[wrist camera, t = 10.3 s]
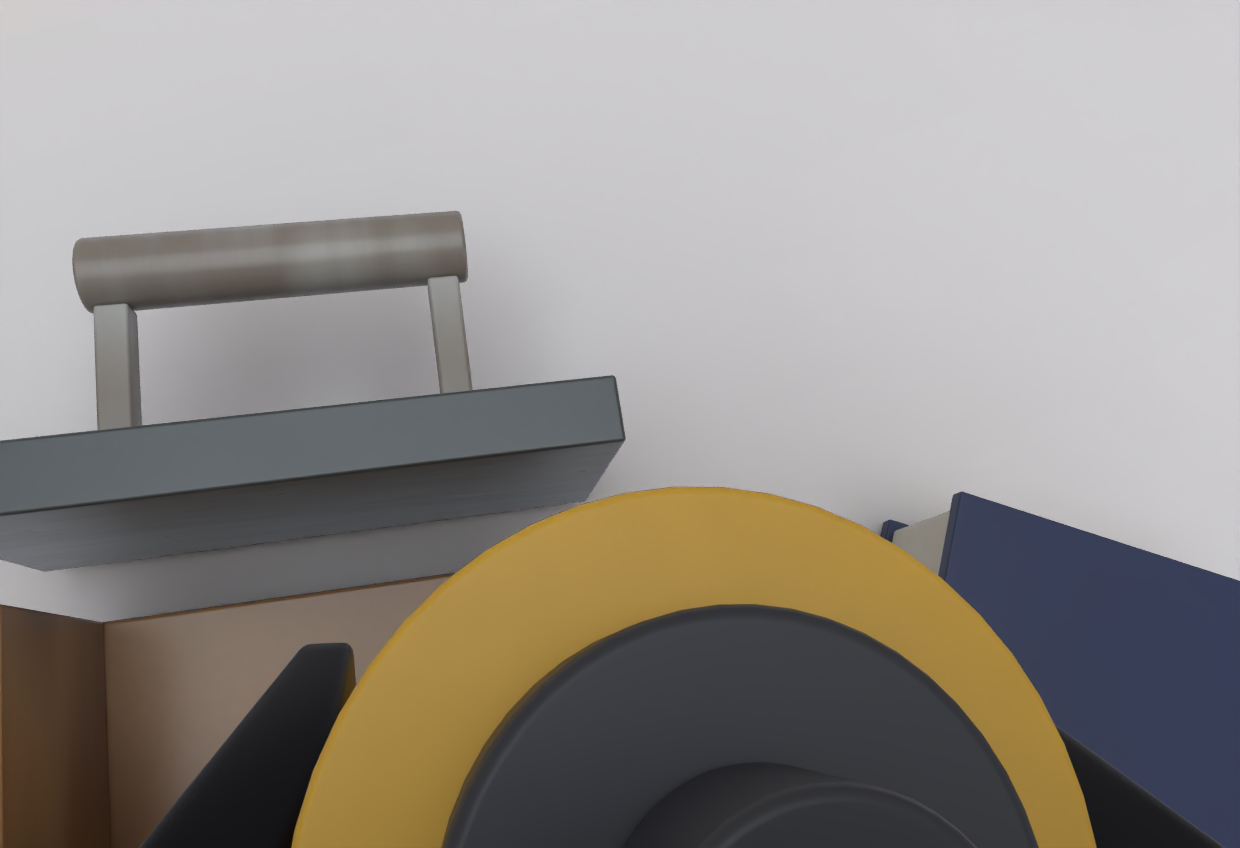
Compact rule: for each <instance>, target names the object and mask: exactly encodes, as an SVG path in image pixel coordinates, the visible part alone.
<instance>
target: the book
mask: <svg viewBox="0 0 1240 848" xmlns="http://www.w3.org/2000/svg"><path fill="white" fill-rule="evenodd" d="M881 537H882V538H884V539H886V540H888V541H889V542H891V543H893V544H895V545H896V546H898V547H900V548H902V549H903V550H904V551H906V552H907V553H909V554H910V555H911V556H913V557H914V558H915V559H917V560H918V561H919V562H921V563H922V564H923V565H925V566H926V567H927V568H929V569H930V570H931V571H933V572H934V573H935V574H937V575H938V576H939V577H941V578H942V579H943V580H944V581H945V582H946V583H947V584H948V585H949V586H950V587H951V588H953V589H954V590H955V591H956V592H957V593H958V594H959V595H960V596H961V597H962V598H963V599H964V600H965V601H966V602H967V603H968V604H969V605H970V606H971V607H972V608H974V609H975V610H976V611H977V612H978V613H979V614H980V615H981V617H982V618H983V619H984V620H985V621H986V623H987V624H988V625H989V626H990V627H991V629H992V630H993V631H994V632H995V633H996V635H997V636H998V637H999V638H1000V639H1001V641H1002V642H1003V643H1004V644H1005V645H1006V647H1007V648H1008V649H1009V650H1010V652H1011V653H1012V654H1013V655H1014V657H1015V659H1016V660H1017V662H1018V663H1019V665H1020V666H1021V668H1022V669H1023V671H1024V672H1025V674H1026V675H1027V677H1028V678H1029V680H1030V682H1031V683H1032V685H1033V686H1034V688H1035V689H1036V691H1037V692H1038V694H1039V695H1040V697H1041V699H1042V701H1043V703H1044V705H1045V707H1046V709H1047V711H1048V713H1049V715H1050V717H1051V719H1052V721H1053V723H1054V724H1056V725H1057V726H1059V727H1060V728H1061V729H1063V730H1064V731H1065V732H1067V733H1068V734H1070V735H1071V736H1072V737H1074V738H1075V739H1076V740H1078V741H1079V742H1081V743H1082V744H1083V745H1085V746H1086V747H1087V748H1089V749H1090V750H1092V751H1093V752H1094V753H1096V754H1097V755H1098V756H1100V757H1101V758H1103V759H1104V760H1105V761H1107V762H1108V763H1109V764H1111V765H1112V766H1114V767H1115V768H1116V769H1118V770H1119V771H1120V772H1122V773H1123V774H1125V775H1126V776H1127V777H1129V778H1130V779H1131V780H1133V781H1134V782H1136V783H1137V784H1138V785H1140V786H1141V787H1142V788H1144V789H1145V790H1147V791H1148V792H1149V793H1151V794H1152V795H1154V796H1155V797H1156V798H1158V799H1159V800H1160V801H1162V802H1163V803H1165V804H1166V805H1167V806H1169V807H1170V808H1171V809H1173V810H1174V811H1176V812H1177V813H1178V814H1180V815H1181V816H1182V817H1184V818H1185V819H1187V820H1188V821H1189V822H1191V823H1192V824H1193V825H1195V826H1196V827H1198V828H1199V829H1200V830H1202V831H1203V832H1204V833H1206V834H1207V835H1209V836H1210V837H1211V838H1213V839H1214V840H1215V841H1217V842H1218V843H1220V844H1221V845H1222V846H1224V847H1225V848H1240V581H1238V580H1235V579H1232V578H1229V577H1226V576H1223V575H1219V574H1216V573H1213V572H1210V571H1207V570H1204V569H1201V568H1198V567H1195V566H1191V565H1188V564H1185V563H1182V562H1179V561H1176V560H1173V559H1170V558H1167V557H1164V556H1160V555H1157V554H1154V553H1151V552H1148V551H1145V550H1142V549H1139V548H1136V547H1132V546H1129V545H1126V544H1123V543H1120V542H1117V541H1114V540H1111V539H1108V538H1104V537H1101V536H1098V535H1095V534H1092V533H1089V532H1086V531H1083V530H1080V529H1077V528H1073V527H1070V526H1067V525H1064V524H1061V523H1058V522H1055V521H1052V520H1049V519H1045V518H1042V517H1039V516H1036V515H1033V514H1030V513H1027V512H1024V511H1021V510H1017V509H1014V508H1011V507H1008V506H1005V505H1002V504H999V503H996V502H993V501H990V500H986V499H983V498H980V497H977V496H974V495H971V494H968V493H965V492H959V493H957V494H954V495H953V498H952V503H951V509H950V511H949V512H946V513H943V514H940V515H938V516H935V517H932V518H929V519H926V520H924V521H921V522H918V523H915V524H913V525H910V526H909V525H906V524H903V523H900V522H896V521H893V520H888V521H885V522H884V523H883V528H882V533H881Z"/></svg>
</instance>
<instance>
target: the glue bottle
mask: <svg viewBox="0 0 1240 848" xmlns="http://www.w3.org/2000/svg"><path fill="white" fill-rule="evenodd" d="M291 848H1097V847H1096V843H1095V839H1094V835H1093V831H1092V827H1091V823H1090V819H1089V815H1088V811H1087V807H1086V803H1085V799H1084V795H1083V793H1082V790H1081V787H1080V785H1079V782H1078V779H1077V777H1076V774H1075V771H1074V769H1073V766H1072V763H1071V760H1070V758H1069V755H1068V752H1067V750H1066V747H1065V744H1064V742H1063V740H1062V738H1061V736H1060V734H1059V733H1058V731H1057V729H1056V727H1055V725H1054V723H1053V721H1052V719H1051V717H1050V715H1049V713H1048V711H1047V709H1046V707H1045V705H1044V703H1043V701H1042V699H1041V697H1040V695H1039V694H1038V692H1037V691H1036V689H1035V688H1034V686H1033V685H1032V683H1031V682H1030V680H1029V678H1028V677H1027V675H1026V674H1025V672H1024V671H1023V669H1022V668H1021V666H1020V665H1019V663H1018V662H1017V660H1016V659H1015V657H1014V655H1013V654H1012V653H1011V652H1010V650H1009V649H1008V648H1007V647H1006V645H1005V644H1004V643H1003V642H1002V641H1001V639H1000V638H999V637H998V636H997V635H996V633H995V632H994V631H993V630H992V629H991V627H990V626H989V625H988V624H987V623H986V621H985V620H984V619H983V618H982V617H981V615H980V614H979V613H978V612H977V611H976V610H975V609H974V608H972V607H971V606H970V605H969V604H968V603H967V602H966V601H965V600H964V599H963V598H962V597H961V596H960V595H959V594H958V593H957V592H956V591H955V590H954V589H953V588H951V587H950V586H949V585H948V584H947V583H946V582H945V581H944V580H943V579H942V578H941V577H939V576H938V575H937V574H935V573H934V572H933V571H931V570H930V569H929V568H927V567H926V566H925V565H923V564H922V563H921V562H919V561H918V560H917V559H915V558H914V557H913V556H911V555H910V554H909V553H907V552H906V551H904V550H903V549H902V548H900V547H898V546H896V545H895V544H893V543H891V542H889V541H888V540H886V539H884V538H882V537H881V536H879V535H877V534H875V533H874V532H872V531H870V530H868V529H867V528H865V527H863V526H861V525H859V524H857V523H855V522H852V521H850V520H847V519H845V518H843V517H840V516H838V515H835V514H833V513H831V512H828V511H826V510H823V509H821V508H819V507H816V506H813V505H809V504H805V503H802V502H798V501H795V500H791V499H787V498H784V497H780V496H776V495H773V494H768V493H761V492H754V491H747V490H739V489H732V488H725V487H668V488H660V489H652V490H644V491H637V492H629V493H623V494H619V495H616V496H612V497H608V498H604V499H600V500H597V501H593V502H589V503H585V504H581V505H578V506H575V507H573V508H570V509H568V510H565V511H563V512H560V513H558V514H556V515H553V516H551V517H548V518H546V519H543V520H541V521H539V522H536V523H534V524H531V525H529V526H528V527H526V528H524V529H522V530H521V531H519V532H517V533H515V534H514V535H512V536H510V537H508V538H507V539H505V540H503V541H501V542H500V543H498V544H496V545H494V546H493V547H491V548H489V549H487V550H486V551H484V552H483V553H482V554H480V555H479V556H478V557H476V558H475V559H474V560H472V561H471V562H470V563H468V564H467V565H466V566H464V567H463V568H462V569H460V570H459V571H458V572H456V573H455V574H454V575H452V576H451V577H450V578H449V579H447V580H446V581H445V582H443V583H442V584H441V585H440V586H439V587H438V588H437V589H436V590H435V591H434V592H433V593H432V594H431V595H430V596H429V597H428V598H427V599H426V600H425V601H424V602H423V603H422V604H421V605H420V606H419V607H418V608H417V609H416V610H415V611H414V612H413V613H411V614H410V615H409V616H408V617H407V618H406V619H405V620H404V621H403V623H402V624H401V625H400V626H399V628H398V629H397V630H396V631H395V633H394V634H393V635H392V636H391V638H390V639H389V640H388V641H387V643H386V644H385V645H384V647H383V648H382V649H381V650H380V652H379V653H378V654H377V655H376V657H375V658H374V659H373V660H372V662H371V663H370V664H369V665H368V667H367V669H366V670H365V672H364V674H363V675H362V677H361V678H360V680H359V682H358V683H357V685H356V687H355V688H354V690H353V692H352V693H351V695H350V697H349V698H348V700H347V701H346V703H345V705H344V706H343V708H342V710H341V711H340V713H339V715H338V716H337V719H336V721H335V723H334V725H333V727H332V730H331V732H330V734H329V736H328V738H327V741H326V743H325V745H324V747H323V750H322V752H321V754H320V756H319V758H318V761H317V763H316V765H315V767H314V769H313V772H312V775H311V779H310V782H309V785H308V788H307V791H306V794H305V798H304V801H303V804H302V807H301V810H300V814H299V817H298V820H297V823H296V826H295V830H294V835H293V841H292V846H291Z"/></svg>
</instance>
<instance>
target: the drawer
mask: <svg viewBox="0 0 1240 848" xmlns="http://www.w3.org/2000/svg"><path fill="white" fill-rule="evenodd" d="M72 263H73V274H74V280H75V284H76V288H77V291H78V294H79V297H80V299H81V301H82V303H83V305H84V307H85V308H86V309H87V310H88V311H89V312H90V313H93V314H94V338H95V367H96V397H97V426H98V430H96V431H87V432H77V433H68V434H59V435H49V436H40V437H31V438H21V439H12V440H2V441H0V560H4V561H8V562H11V563H15V564H19V565H22V566H26V567H30V568H33V569H37V570H41V571H53V570H60V569H68V568H76V567H83V566H91V565H99V564H106V563H114V562H122V561H129V560H137V559H145V558H152V557H160V556H168V555H175V554H183V553H191V552H198V551H206V550H214V549H221V548H229V547H237V546H244V545H252V544H260V543H267V542H275V541H283V540H290V539H298V538H306V537H313V536H321V535H329V534H336V533H344V532H352V531H359V530H367V529H375V528H382V527H390V526H398V525H405V524H413V523H421V522H428V521H436V520H444V519H451V518H459V517H467V516H474V515H482V514H490V513H498V512H505V511H513V510H521V509H528V508H536V507H544V506H551V505H559V504H567V503H574V502H582V501H585V500H586V499H587V498H588V496H589V495H590V493H591V492H592V490H593V488H594V487H595V485H596V484H597V482H598V481H599V479H600V478H601V476H602V475H603V473H604V472H605V470H606V469H607V467H608V466H609V464H610V462H611V461H612V459H613V458H614V456H615V455H616V453H617V452H618V450H619V449H620V447H621V446H622V444H623V443H624V441H625V438H626V437H625V431H624V425H623V419H622V413H621V407H620V401H619V394H618V388H617V382H616V378H615V376H612V375H611V376H601V377H592V378H583V379H573V380H564V381H555V382H545V383H536V384H527V385H517V386H508V387H499V388H489V389H480V390H472V382H471V374H470V366H469V358H468V350H467V342H466V334H465V327H464V319H463V311H462V303H461V295H460V287H459V283H461V282H465V281H467V278H468V267H467V255H466V245H465V236H464V229H463V222H462V217H461V214H460V212H458V211H448V212H435V213H421V214H407V215H394V216H380V217H366V218H352V219H339V220H325V221H311V222H298V223H284V224H270V225H257V226H243V227H229V228H215V229H202V230H188V231H174V232H161V233H147V234H133V235H120V236H106V237H92V238H81V239H79V240H77V241H76V243H75V245H74V249H73V258H72ZM426 285H428V294H429V303H430V311H431V320H432V328H433V336H434V345H435V353H436V362H437V370H438V378H439V387H440V394H433V395H424V396H414V397H405V398H396V399H386V400H377V401H368V402H358V403H349V404H339V405H330V406H321V407H311V408H302V409H293V410H283V411H274V412H265V413H255V414H246V415H236V416H227V417H218V418H208V419H199V420H190V421H180V422H171V423H162V424H152V425H143V426H142V416H141V393H140V371H139V349H138V326H137V315H136V313H135V312H134V311H137V310H148V309H160V308H172V307H183V306H195V305H206V304H218V303H229V302H241V301H252V300H264V299H276V298H287V297H299V296H310V295H322V294H333V293H345V292H357V291H368V290H380V289H391V288H403V287H414V286H426ZM454 574H455V573H450V574H443V575H436V576H429V577H421V578H414V579H407V580H400V581H393V582H386V583H379V584H372V585H364V586H357V587H350V588H343V589H336V590H329V591H322V592H315V593H308V594H300V595H293V596H286V597H279V598H272V599H265V600H258V601H251V602H244V603H236V604H229V605H222V606H215V607H208V608H201V609H194V610H187V611H180V612H172V613H165V614H158V615H151V616H144V617H137V618H130V619H123V620H116V621H108V622H97V621H92V620H86V619H80V618H75V617H69V616H63V615H58V614H52V613H46V612H41V611H35V610H29V609H24V608H18V607H12V606H7V605H1V604H0V848H139V847H140V845H141V844H142V843H143V842H144V840H145V839H146V838H147V837H148V836H149V834H150V833H151V832H152V831H153V829H154V828H155V827H156V826H157V824H158V823H159V822H160V821H161V820H162V818H163V817H164V816H165V815H166V813H167V812H168V811H169V810H170V808H171V807H172V806H173V805H174V804H175V802H176V801H177V800H178V799H179V797H180V796H181V795H182V794H183V792H184V791H185V790H186V789H187V788H188V786H189V785H190V784H191V783H192V781H193V780H194V779H195V778H196V776H197V775H198V774H199V773H200V772H201V770H202V769H203V768H204V767H205V765H206V764H207V763H208V762H209V760H210V759H211V758H212V757H213V756H214V754H215V753H216V752H217V751H218V749H219V748H220V747H221V746H222V744H223V743H224V742H225V741H226V740H227V738H228V737H229V736H230V735H231V733H232V732H233V731H234V730H235V729H236V727H237V726H238V725H239V724H240V722H241V721H242V720H243V719H244V717H245V716H246V715H247V714H248V713H249V711H250V710H251V709H252V708H253V706H254V705H255V704H256V703H257V701H258V700H259V699H260V698H261V697H262V695H263V694H264V693H265V692H266V690H267V689H268V688H269V687H270V685H271V684H272V683H273V682H274V681H275V679H276V678H277V677H278V676H279V674H280V673H281V672H282V671H283V669H284V668H285V667H286V666H287V665H288V663H289V662H290V661H291V660H292V658H293V657H294V656H295V655H296V653H297V652H298V651H299V650H300V649H301V648H302V647H304V646H305V645H308V644H319V643H347V644H349V645H350V646H351V648H352V649H353V655H354V665H355V678H356V685H357V683H358V682H359V680H360V678H361V677H362V675H363V674H364V672H365V670H366V669H367V667H368V665H369V664H370V663H371V662H372V660H373V659H374V658H375V657H376V655H377V654H378V653H379V652H380V650H381V649H382V648H383V647H384V645H385V644H386V643H387V641H388V640H389V639H390V638H391V636H392V635H393V634H394V633H395V631H396V630H397V629H398V628H399V626H400V625H401V624H402V623H403V621H404V620H405V619H406V618H407V617H408V616H409V615H410V614H411V613H413V612H414V611H415V610H416V609H417V608H418V607H419V606H420V605H421V604H422V603H423V602H424V601H425V600H426V599H427V598H428V597H429V596H430V595H431V594H432V593H433V592H434V591H435V590H436V589H437V588H438V587H439V586H440V585H441V584H442V583H443V582H445V581H446V580H447V579H449V578H450V577H451V576H452V575H454Z"/></svg>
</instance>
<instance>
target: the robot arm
mask: <svg viewBox="0 0 1240 848" xmlns="http://www.w3.org/2000/svg"><path fill="white" fill-rule="evenodd" d="M355 687H356V678H355V665H354V655H353V649H352V648H351V646H350V645H349V644H347V643H319V644H308V645H305V646H304V647H302V648H301V649H300V650H299V651H298V652H297V653H296V655H295V656H294V657H293V658H292V660H291V661H290V662H289V663H288V665H287V666H286V667H285V668H284V669H283V671H282V672H281V673H280V674H279V676H278V677H277V678H276V679H275V681H274V682H273V683H272V684H271V685H270V687H269V688H268V689H267V690H266V692H265V693H264V694H263V695H262V697H261V698H260V699H259V700H258V701H257V703H256V704H255V705H254V706H253V708H252V709H251V710H250V711H249V713H248V714H247V715H246V716H245V717H244V719H243V720H242V721H241V722H240V724H239V725H238V726H237V727H236V729H235V730H234V731H233V732H232V733H231V735H230V736H229V737H228V738H227V740H226V741H225V742H224V743H223V744H222V746H221V747H220V748H219V749H218V751H217V752H216V753H215V754H214V756H213V757H212V758H211V759H210V760H209V762H208V763H207V764H206V765H205V767H204V768H203V769H202V770H201V772H200V773H199V774H198V775H197V776H196V778H195V779H194V780H193V781H192V783H191V784H190V785H189V786H188V788H187V789H186V790H185V791H184V792H183V794H182V795H181V796H180V797H179V799H178V800H177V801H176V802H175V804H174V805H173V806H172V807H171V808H170V810H169V811H168V812H167V813H166V815H165V816H164V817H163V818H162V820H161V821H160V822H159V823H158V824H157V826H156V827H155V828H154V829H153V831H152V832H151V833H150V834H149V836H148V837H147V838H146V839H145V840H144V842H143V843H142V844H141V845H140V847H139V848H291V846H292V841H293V835H294V830H295V826H296V823H297V820H298V817H299V814H300V810H301V807H302V804H303V801H304V798H305V794H306V791H307V788H308V785H309V782H310V779H311V775H312V772H313V769H314V767H315V765H316V763H317V761H318V758H319V756H320V754H321V752H322V750H323V747H324V745H325V743H326V741H327V738H328V736H329V734H330V732H331V730H332V727H333V725H334V723H335V721H336V719H337V716H338V715H339V713H340V711H341V710H342V708H343V706H344V705H345V703H346V701H347V700H348V698H349V697H350V695H351V693H352V692H353V690H354V688H355ZM1054 725H1055V727H1056V729H1057V731H1058V733H1059V734H1060V736H1061V738H1062V740H1063V742H1064V744H1065V747H1066V750H1067V752H1068V755H1069V758H1070V760H1071V763H1072V766H1073V769H1074V771H1075V774H1076V777H1077V779H1078V782H1079V785H1080V787H1081V790H1082V793H1083V795H1084V799H1085V803H1086V807H1087V811H1088V815H1089V819H1090V823H1091V827H1092V831H1093V835H1094V839H1095V843H1096V847H1097V848H1225V847H1224V846H1222V845H1221V844H1220V843H1218V842H1217V841H1215V840H1214V839H1213V838H1211V837H1210V836H1209V835H1207V834H1206V833H1204V832H1203V831H1202V830H1200V829H1199V828H1198V827H1196V826H1195V825H1193V824H1192V823H1191V822H1189V821H1188V820H1187V819H1185V818H1184V817H1182V816H1181V815H1180V814H1178V813H1177V812H1176V811H1174V810H1173V809H1171V808H1170V807H1169V806H1167V805H1166V804H1165V803H1163V802H1162V801H1160V800H1159V799H1158V798H1156V797H1155V796H1154V795H1152V794H1151V793H1149V792H1148V791H1147V790H1145V789H1144V788H1142V787H1141V786H1140V785H1138V784H1137V783H1136V782H1134V781H1133V780H1131V779H1130V778H1129V777H1127V776H1126V775H1125V774H1123V773H1122V772H1120V771H1119V770H1118V769H1116V768H1115V767H1114V766H1112V765H1111V764H1109V763H1108V762H1107V761H1105V760H1104V759H1103V758H1101V757H1100V756H1098V755H1097V754H1096V753H1094V752H1093V751H1092V750H1090V749H1089V748H1087V747H1086V746H1085V745H1083V744H1082V743H1081V742H1079V741H1078V740H1076V739H1075V738H1074V737H1072V736H1071V735H1070V734H1068V733H1067V732H1065V731H1064V730H1063V729H1061V728H1060V727H1059V726H1057V725H1056V724H1054Z"/></svg>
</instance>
